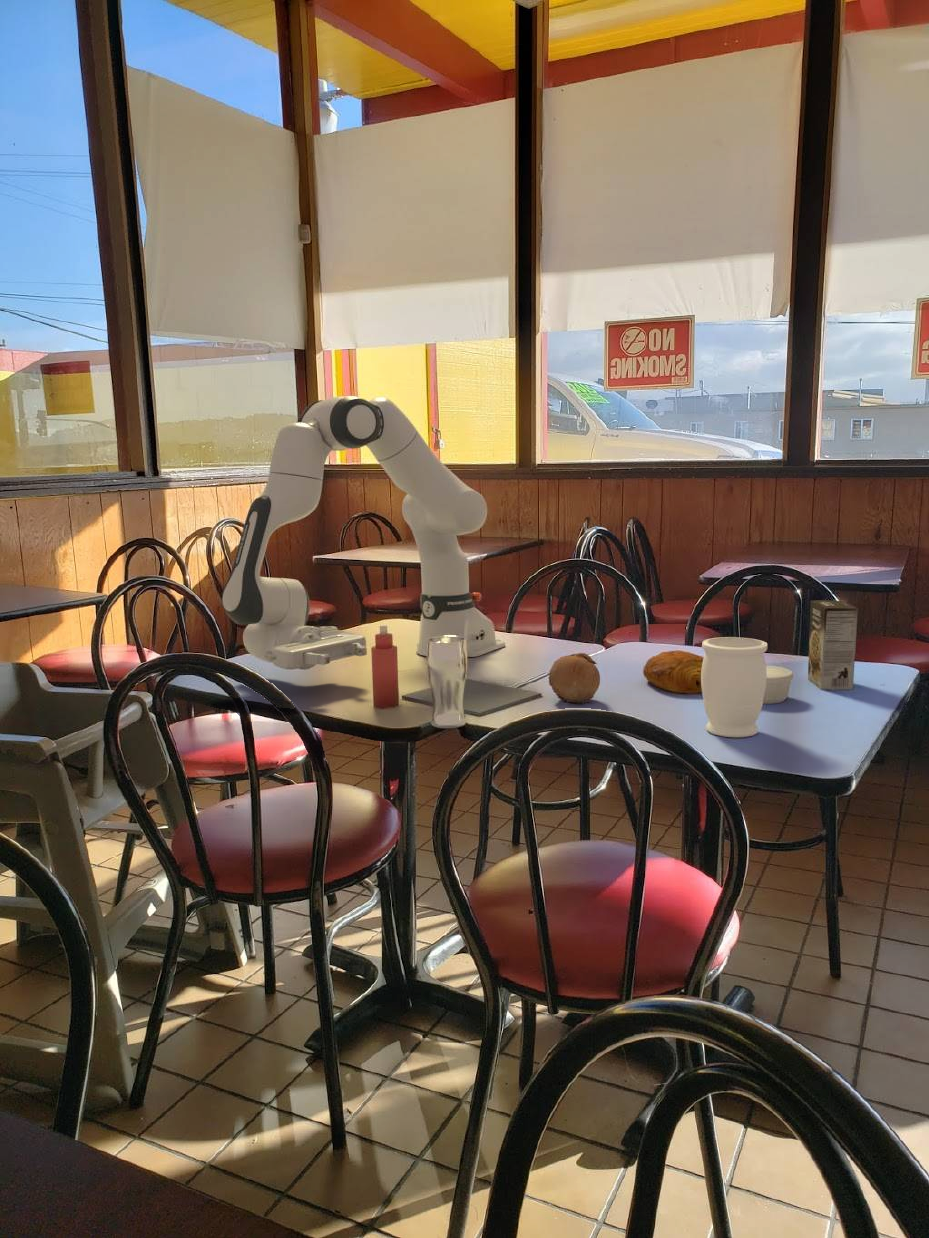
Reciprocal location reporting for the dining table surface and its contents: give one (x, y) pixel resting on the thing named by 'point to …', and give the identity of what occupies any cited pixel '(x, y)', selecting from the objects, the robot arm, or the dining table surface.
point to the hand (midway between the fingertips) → (345, 655)
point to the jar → (733, 684)
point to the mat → (481, 697)
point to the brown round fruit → (574, 678)
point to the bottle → (385, 671)
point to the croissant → (675, 671)
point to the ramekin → (777, 684)
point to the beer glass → (447, 679)
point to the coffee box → (832, 644)
